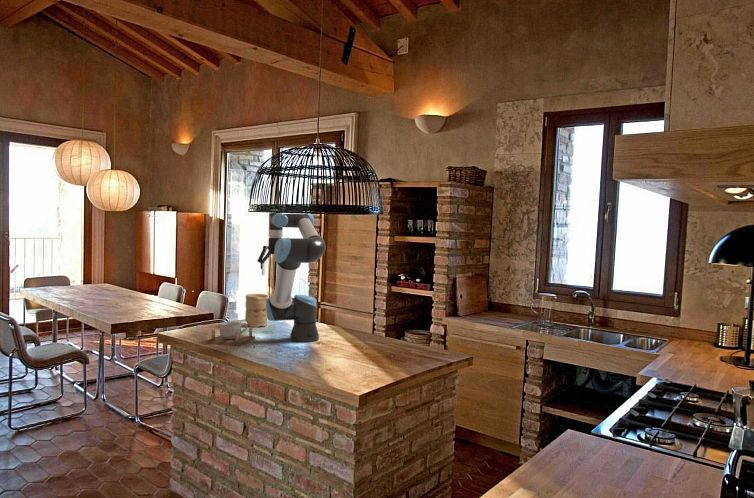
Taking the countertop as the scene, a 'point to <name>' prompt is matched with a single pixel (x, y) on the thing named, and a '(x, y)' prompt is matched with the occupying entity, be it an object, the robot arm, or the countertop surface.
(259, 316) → the container
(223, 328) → the teacup
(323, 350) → the countertop surface
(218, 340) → the rack
